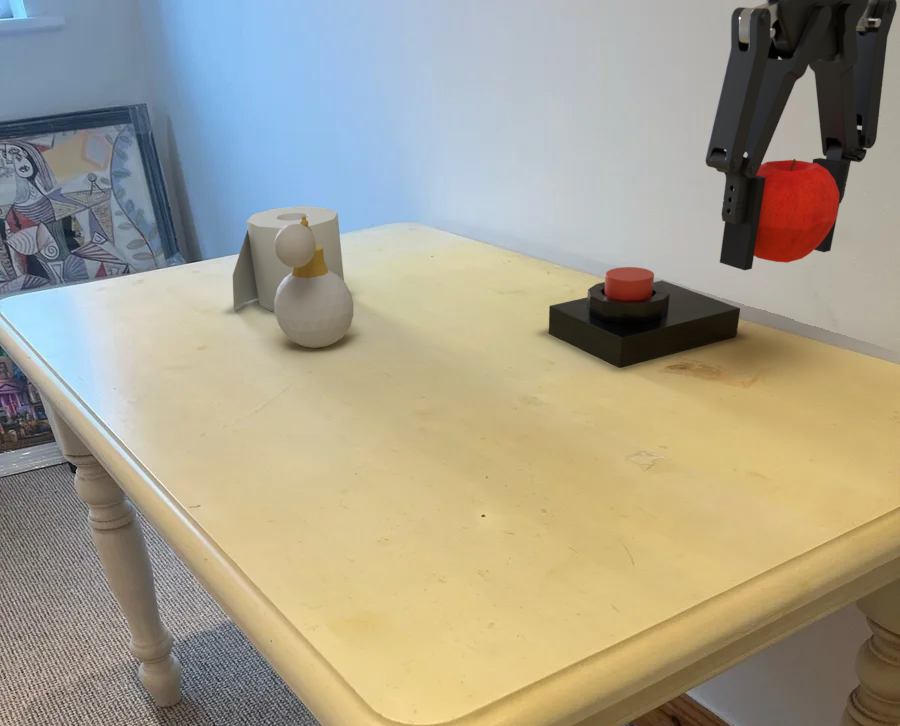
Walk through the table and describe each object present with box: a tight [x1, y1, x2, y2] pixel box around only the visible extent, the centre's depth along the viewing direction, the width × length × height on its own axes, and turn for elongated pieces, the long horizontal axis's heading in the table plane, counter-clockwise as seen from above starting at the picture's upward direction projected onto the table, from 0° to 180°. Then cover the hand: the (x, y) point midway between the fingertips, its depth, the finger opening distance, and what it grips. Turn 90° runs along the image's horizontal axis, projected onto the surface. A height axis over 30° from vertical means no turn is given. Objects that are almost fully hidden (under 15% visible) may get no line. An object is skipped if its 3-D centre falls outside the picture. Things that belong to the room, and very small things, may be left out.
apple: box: [754, 158, 840, 264], centre depth 72 cm, size 8×8×7 cm
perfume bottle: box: [273, 216, 354, 349], centre depth 86 cm, size 8×10×12 cm
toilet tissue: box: [232, 205, 345, 312], centre depth 99 cm, size 9×13×9 cm
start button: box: [604, 266, 655, 300], centre depth 86 cm, size 4×4×2 cm
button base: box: [548, 280, 741, 368], centre depth 88 cm, size 14×11×4 cm
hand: (775, 256), depth 74 cm, fingers closed on apple, 8 cm apart
